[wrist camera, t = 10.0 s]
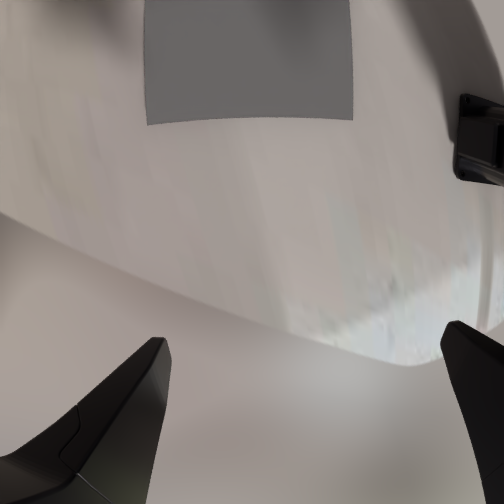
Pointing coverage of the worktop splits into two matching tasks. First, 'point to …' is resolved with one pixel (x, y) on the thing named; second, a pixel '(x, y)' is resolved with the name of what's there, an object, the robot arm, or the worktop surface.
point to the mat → (247, 59)
